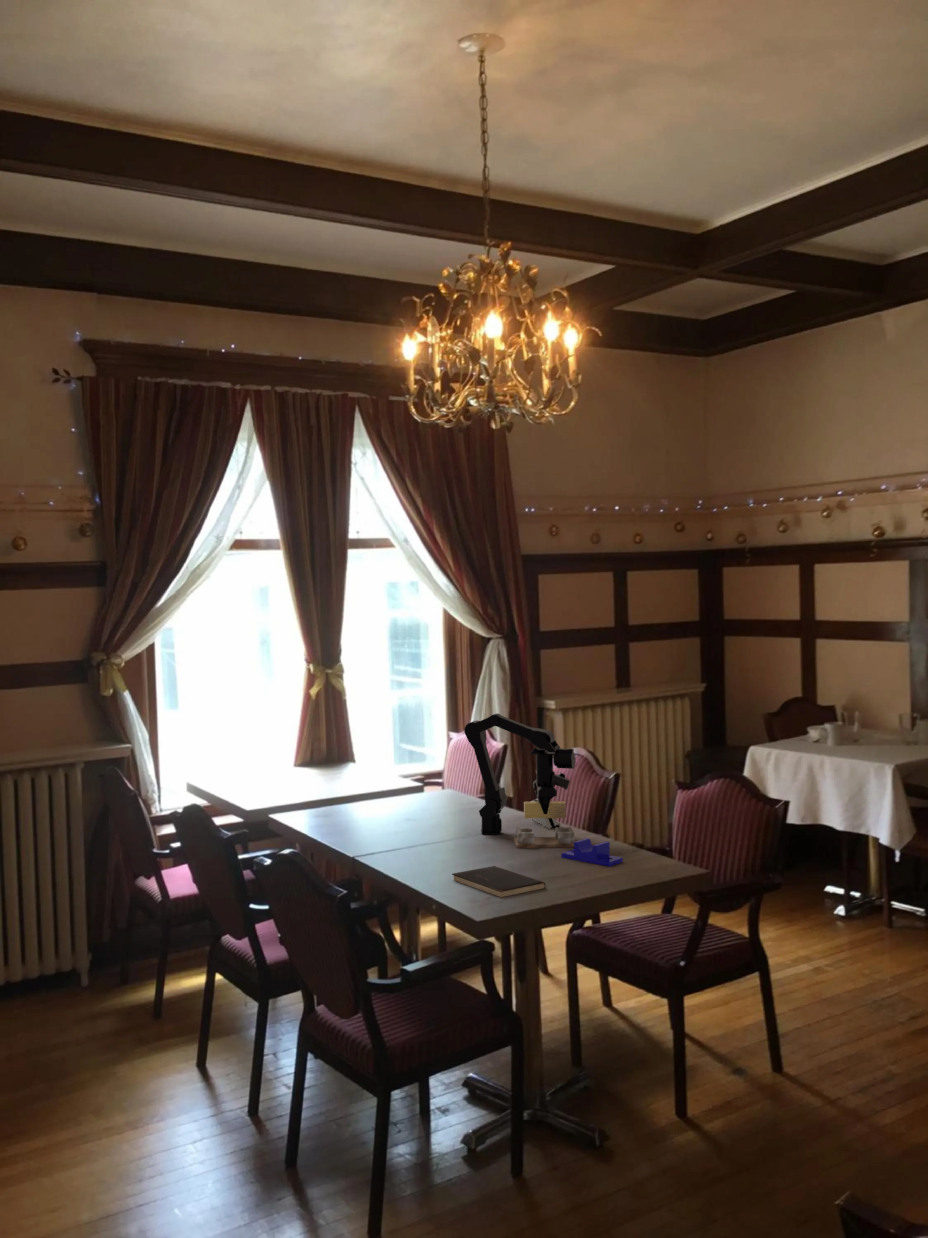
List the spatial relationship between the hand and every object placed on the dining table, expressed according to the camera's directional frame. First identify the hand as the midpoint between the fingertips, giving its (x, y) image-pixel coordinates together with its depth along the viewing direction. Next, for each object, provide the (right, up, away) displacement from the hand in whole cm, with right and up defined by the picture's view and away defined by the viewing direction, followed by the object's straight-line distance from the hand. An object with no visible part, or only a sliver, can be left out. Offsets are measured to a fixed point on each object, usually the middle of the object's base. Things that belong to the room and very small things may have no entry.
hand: (544, 813), depth 371 cm
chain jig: (-1, -8, -11) cm, 14 cm away
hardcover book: (-18, -10, -61) cm, 65 cm away
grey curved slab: (+1, -8, +21) cm, 23 cm away
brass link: (0, -1, 0) cm, 1 cm away
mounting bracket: (+12, -9, -33) cm, 37 cm away
